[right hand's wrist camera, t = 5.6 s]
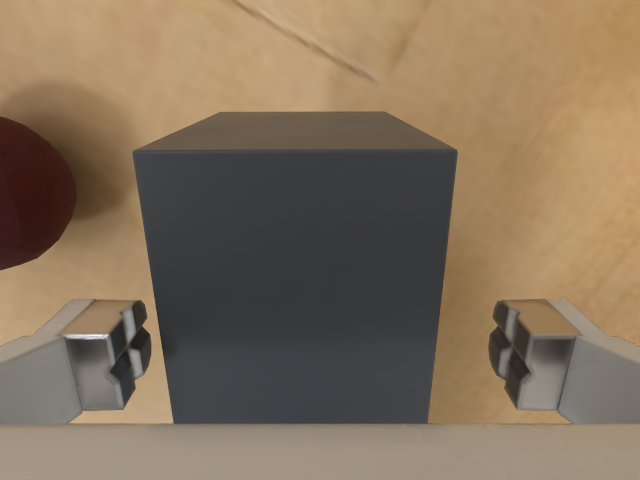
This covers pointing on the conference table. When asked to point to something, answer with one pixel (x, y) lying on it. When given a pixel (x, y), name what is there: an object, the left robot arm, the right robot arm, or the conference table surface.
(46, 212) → the dark red ball
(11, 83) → the conference table surface
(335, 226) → the box
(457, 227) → the conference table surface
